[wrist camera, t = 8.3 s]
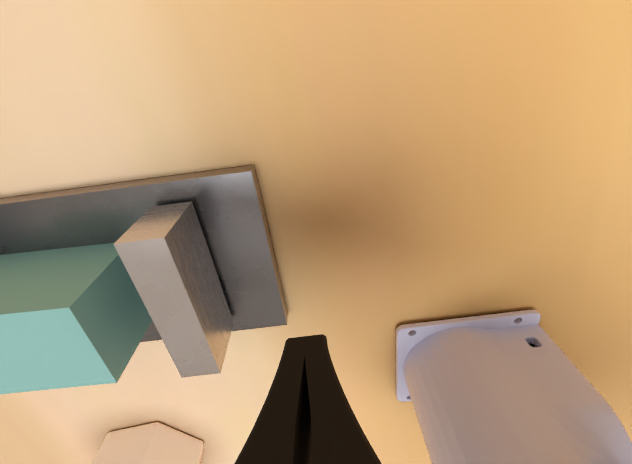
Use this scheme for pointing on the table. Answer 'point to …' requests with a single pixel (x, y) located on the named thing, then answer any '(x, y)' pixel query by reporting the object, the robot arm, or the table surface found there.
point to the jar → (149, 446)
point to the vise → (138, 196)
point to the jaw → (179, 286)
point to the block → (67, 318)
